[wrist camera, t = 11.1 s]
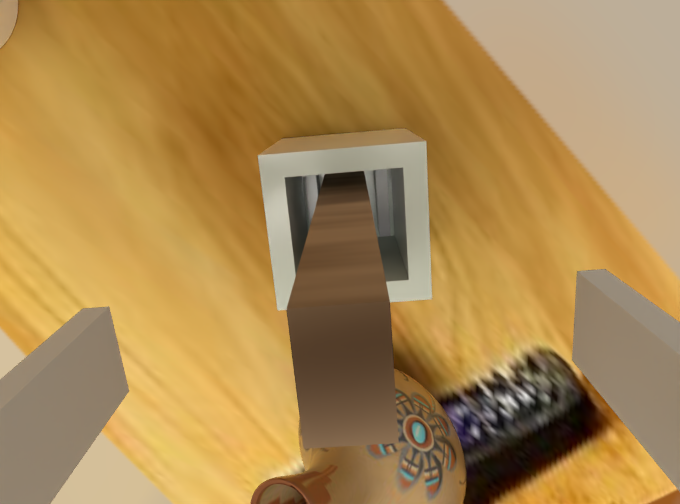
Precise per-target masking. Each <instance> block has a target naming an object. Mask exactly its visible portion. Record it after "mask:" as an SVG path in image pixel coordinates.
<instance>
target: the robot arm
mask: <svg viewBox="0 0 680 504" xmlns="http://www.w3.org/2000/svg"><path fill="white" fill-rule="evenodd" d="M572 361H573V362H574V363H575V364H576V365H577V367H578V368H579V369H580V370H581V371H582V373H583V374H584V375H585V376H586V378H587V379H588V380H589V381H590V382H591V384H592V385H593V386H594V387H595V389H596V390H597V391H598V392H599V393H600V395H601V396H602V397H603V398H604V400H605V401H606V402H607V403H608V404H609V406H610V407H611V408H612V409H613V411H614V412H615V413H616V414H617V415H618V417H619V418H620V419H621V420H622V422H623V423H624V424H625V425H626V426H627V428H628V429H629V430H630V431H631V433H632V434H633V435H634V436H635V437H636V439H637V440H638V441H639V442H640V444H641V445H642V446H643V447H644V448H645V450H646V451H647V452H648V453H649V454H650V456H651V457H652V458H653V459H654V461H655V462H656V463H657V464H658V465H659V467H660V468H661V469H662V470H663V472H664V473H665V474H666V475H667V476H668V478H669V479H670V480H671V481H672V483H673V484H674V485H675V486H676V487H677V489H678V490H679V491H680V322H678V321H677V320H676V319H674V318H673V317H671V316H670V315H669V314H667V313H666V312H664V311H663V310H662V309H660V308H659V307H657V306H656V305H655V304H653V303H652V302H650V301H649V300H648V299H646V298H645V297H643V296H642V295H641V294H639V293H638V292H637V291H635V290H634V289H632V288H631V287H630V286H628V285H627V284H625V283H624V282H623V281H621V280H620V279H618V278H617V277H616V276H614V275H613V274H611V273H610V272H609V271H607V270H606V269H600V270H587V271H577V281H576V299H575V318H574V336H573V354H572ZM128 392H129V389H128V384H127V380H126V376H125V372H124V368H123V363H122V359H121V355H120V351H119V346H118V342H117V338H116V334H115V329H114V325H113V321H112V317H111V312H110V308H109V307H98V308H85V309H82V310H81V311H79V312H78V313H77V314H76V315H75V316H74V317H72V318H71V319H70V320H69V321H68V322H67V323H65V324H64V325H63V326H62V327H61V328H60V329H58V330H57V331H56V332H55V333H54V334H53V335H51V336H50V337H49V338H48V339H47V340H46V341H45V342H43V343H42V344H41V345H40V346H39V347H38V348H36V349H35V350H34V351H33V352H32V353H31V354H29V355H28V356H27V357H26V358H25V359H24V360H22V361H21V362H20V363H19V364H18V365H17V366H15V367H14V368H13V369H12V370H11V371H10V372H8V373H7V374H6V375H5V376H4V377H3V378H2V379H1V380H0V504H50V503H51V502H52V500H53V499H54V498H55V496H56V495H57V493H58V492H59V490H60V489H61V487H62V486H63V485H64V483H65V482H66V480H67V479H68V477H69V476H70V475H71V473H72V472H73V470H74V469H75V467H76V466H77V465H78V463H79V462H80V460H81V459H82V458H83V456H84V455H85V453H86V452H87V450H88V449H89V448H90V446H91V445H92V443H93V442H94V440H95V439H96V437H97V436H98V435H99V433H100V432H101V430H102V429H103V428H104V426H105V425H106V423H107V422H108V420H109V419H110V418H111V416H112V415H113V413H114V412H115V410H116V409H117V408H118V406H119V405H120V403H121V402H122V400H123V399H124V398H125V396H126V395H127V393H128Z"/></svg>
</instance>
